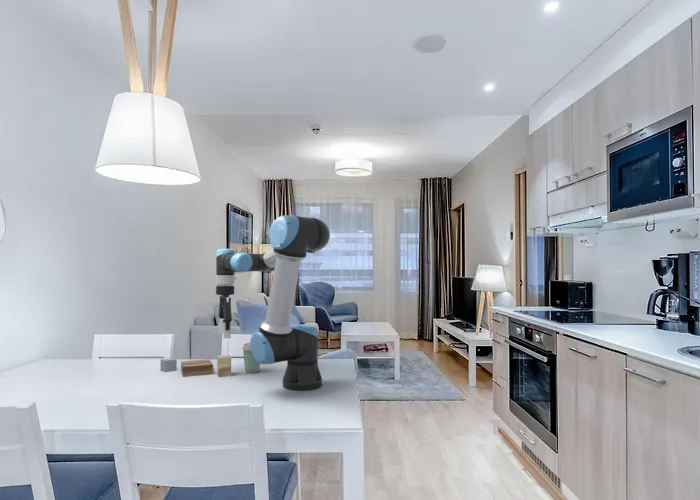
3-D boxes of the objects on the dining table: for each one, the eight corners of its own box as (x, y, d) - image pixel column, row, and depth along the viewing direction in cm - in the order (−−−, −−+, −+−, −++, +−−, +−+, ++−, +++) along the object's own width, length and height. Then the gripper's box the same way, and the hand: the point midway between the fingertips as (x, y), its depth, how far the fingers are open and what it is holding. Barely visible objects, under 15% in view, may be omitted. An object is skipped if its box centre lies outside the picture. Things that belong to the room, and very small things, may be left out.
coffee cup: (264, 370, 197) (264, 342, 198) (258, 374, 189) (259, 346, 189) (245, 369, 198) (246, 342, 199) (239, 374, 190) (239, 345, 190)
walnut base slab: (212, 374, 190) (213, 364, 190) (182, 376, 185) (182, 367, 185) (209, 368, 201) (209, 359, 201) (181, 370, 196) (181, 361, 196)
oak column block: (231, 376, 186) (231, 356, 187) (218, 377, 184) (219, 357, 185) (229, 373, 191) (229, 354, 191) (217, 374, 189) (217, 355, 189)
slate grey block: (176, 370, 196) (176, 359, 197) (164, 372, 193) (165, 360, 193) (171, 368, 200) (171, 357, 200) (160, 370, 197) (160, 359, 197)
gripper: (239, 286, 179) (238, 339, 179) (229, 284, 202) (229, 331, 201) (220, 286, 176) (219, 340, 176) (212, 284, 199) (211, 332, 198)
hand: (224, 335), depth 188 cm, fingers open, 13 cm apart
